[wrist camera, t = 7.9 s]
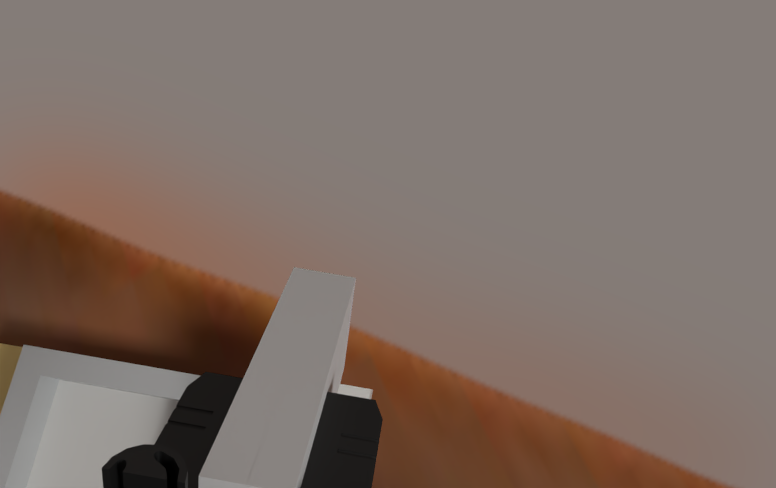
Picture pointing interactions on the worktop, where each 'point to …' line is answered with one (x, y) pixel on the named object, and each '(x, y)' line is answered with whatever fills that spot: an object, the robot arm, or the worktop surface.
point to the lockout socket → (76, 414)
